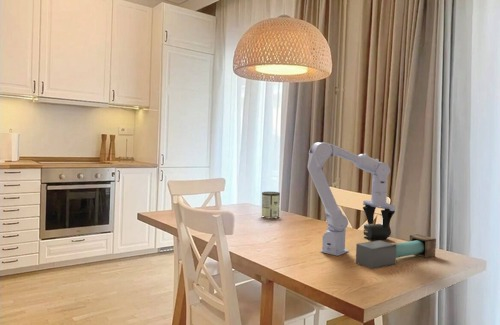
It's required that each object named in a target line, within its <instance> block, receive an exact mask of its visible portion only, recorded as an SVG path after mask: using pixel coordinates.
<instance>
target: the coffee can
mask: <svg viewBox="0 0 500 325" xmlns="http://www.w3.org/2000/svg"><path fill="white" fill-rule="evenodd" d="M280 194H281V192H278V191H262V192H261V217H262V216H264V217H270V218H275V217H279V218H280V196H281V195H280ZM275 219H276V218H275Z"/></svg>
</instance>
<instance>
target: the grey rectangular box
mask: <svg viewBox="0 0 500 325" xmlns="http://www.w3.org/2000/svg"><path fill="white" fill-rule="evenodd" d="M394 244H395V243H390V242H387V241H384V240H382V239H377V240H374V241H373V240H371V241H366V242H359V243H356V245H355V246H356V247H355V252H356V253H355V263H356V264H357V265H360V266H362V267H366V268H368V269H370V270H375V269H381V268H385V267H391V266H394V265H396V264H397V258H396V245H394Z"/></svg>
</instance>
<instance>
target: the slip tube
mask: <svg viewBox="0 0 500 325" xmlns="http://www.w3.org/2000/svg"><path fill="white" fill-rule="evenodd" d="M393 244H394V245H396V259H397V258H402V257H407V256H413V255H415V254H419V253H424V252H425V241H423V240H416V241H410V240H409V241H405V242H398V243H393Z"/></svg>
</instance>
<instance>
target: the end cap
mask: <svg viewBox="0 0 500 325" xmlns="http://www.w3.org/2000/svg"><path fill="white" fill-rule="evenodd" d="M363 230H364V231H363V235H364V236H363V238H364V239H366V240H368V241H373V240H374V241H378V240H386V239H388V238H390V237H391V235H392V234H391V233H392V230H391V227H390V226H389V225H388V228H383V224H381V223H375V224H368V223H367V224H364V225H363ZM365 230H366V231H365Z"/></svg>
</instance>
